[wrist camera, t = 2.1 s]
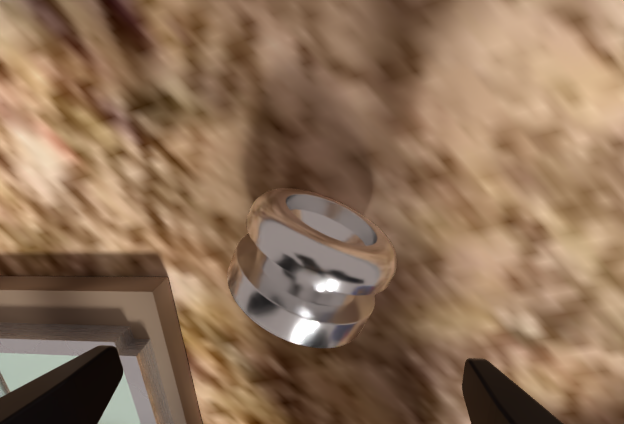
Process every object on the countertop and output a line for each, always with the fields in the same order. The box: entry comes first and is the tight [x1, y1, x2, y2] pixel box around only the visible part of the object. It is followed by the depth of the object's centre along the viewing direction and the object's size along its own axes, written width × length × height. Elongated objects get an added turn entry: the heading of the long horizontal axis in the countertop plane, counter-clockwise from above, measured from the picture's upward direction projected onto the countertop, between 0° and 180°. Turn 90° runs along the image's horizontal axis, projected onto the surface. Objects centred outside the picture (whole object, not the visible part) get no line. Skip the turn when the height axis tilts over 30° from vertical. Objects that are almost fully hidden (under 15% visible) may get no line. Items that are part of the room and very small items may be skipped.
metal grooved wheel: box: [227, 188, 397, 348], centre depth 10 cm, size 5×3×5 cm, turn 68°
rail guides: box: [0, 323, 174, 424], centre depth 15 cm, size 10×10×1 cm
